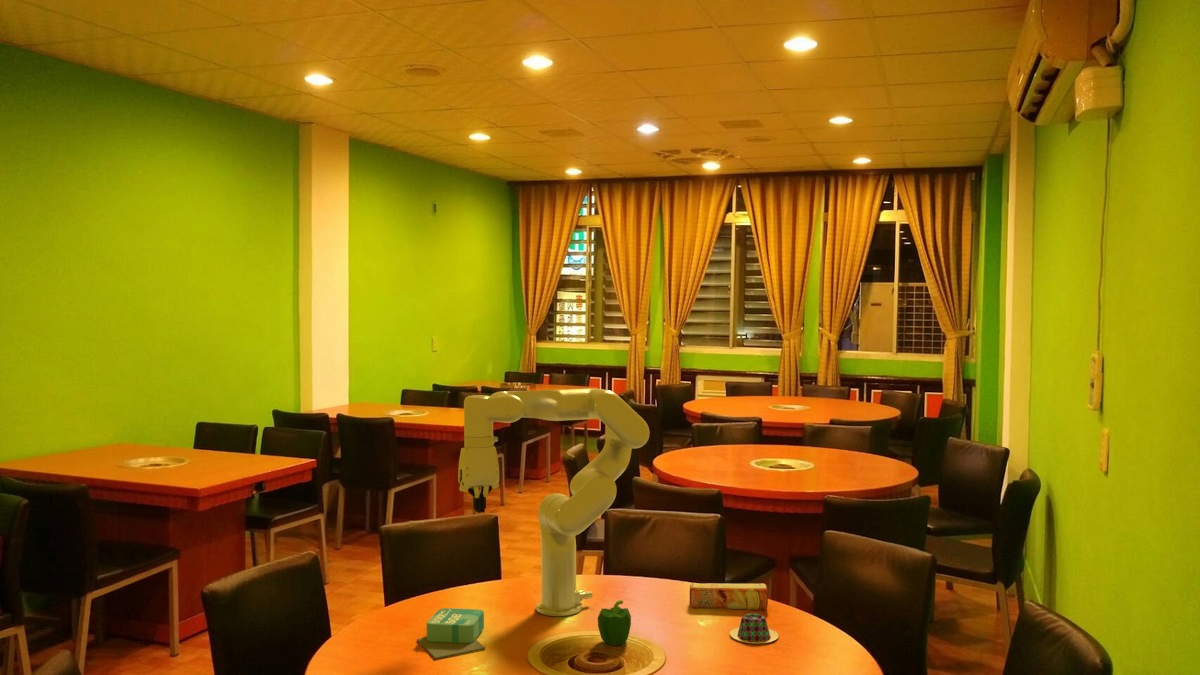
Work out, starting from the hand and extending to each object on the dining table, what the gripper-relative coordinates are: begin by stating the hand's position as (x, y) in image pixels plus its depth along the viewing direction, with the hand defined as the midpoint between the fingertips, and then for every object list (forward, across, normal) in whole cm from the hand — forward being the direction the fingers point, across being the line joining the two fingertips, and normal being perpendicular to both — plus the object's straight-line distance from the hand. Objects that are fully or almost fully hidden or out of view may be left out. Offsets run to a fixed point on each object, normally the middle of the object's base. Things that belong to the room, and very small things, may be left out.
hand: (479, 511), depth 235 cm
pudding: (+30, -55, +45) cm, 77 cm away
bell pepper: (+29, -23, +31) cm, 48 cm away
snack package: (+30, -63, +24) cm, 74 cm away
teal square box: (+26, +5, +11) cm, 29 cm away
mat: (+29, +13, +12) cm, 34 cm away
